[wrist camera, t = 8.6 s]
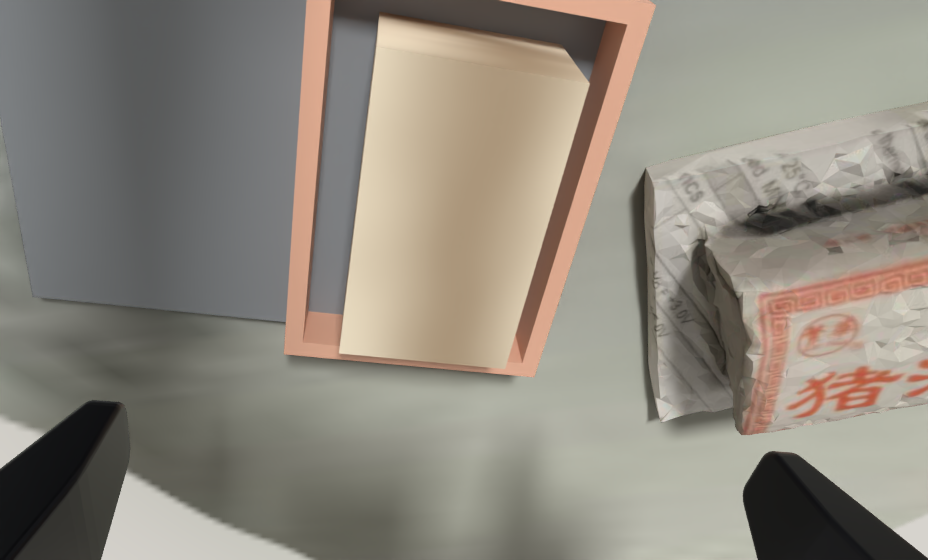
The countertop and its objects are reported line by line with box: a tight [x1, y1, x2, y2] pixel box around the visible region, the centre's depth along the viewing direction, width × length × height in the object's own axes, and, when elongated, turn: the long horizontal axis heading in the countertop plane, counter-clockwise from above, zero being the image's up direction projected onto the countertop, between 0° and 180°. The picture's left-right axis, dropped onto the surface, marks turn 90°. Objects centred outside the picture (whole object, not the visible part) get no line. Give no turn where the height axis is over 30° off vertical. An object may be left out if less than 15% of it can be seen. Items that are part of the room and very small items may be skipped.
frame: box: [284, 0, 656, 377], centre depth 18 cm, size 11×8×2 cm
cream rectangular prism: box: [339, 12, 590, 369], centre depth 17 cm, size 4×8×3 cm, turn 169°
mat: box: [0, 0, 607, 322], centre depth 16 cm, size 18×15×1 cm
